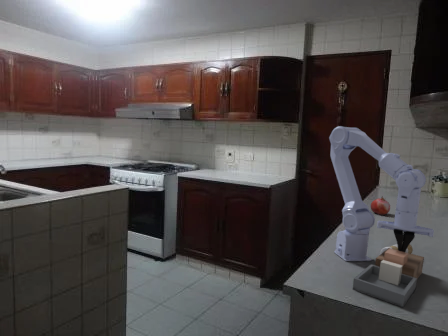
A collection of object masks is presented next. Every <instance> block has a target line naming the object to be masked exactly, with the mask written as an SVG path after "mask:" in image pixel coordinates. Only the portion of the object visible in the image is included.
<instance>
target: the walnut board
mask: <svg viewBox="0 0 448 336" xmlns="http://www.w3.org/2000/svg"><path fill="white" fill-rule="evenodd" d="M388 249H391V248H388ZM388 249H387V250H388ZM387 250H386V251H387ZM394 250H395V249H394ZM386 251H384V252H383V253H382V254H381V255H380V254H379V255H378V256H377V257H376V258H375V262H374V265H375V266H378V267H380V264H381V261H383V260H384V255H385V252H386ZM405 253H406V252H405ZM424 260H425V257H424V256H423V255H422V256H421V255H417V254H413V253H411V254H410V253H408V260H407V262H406V263H405V264H404V266H403V267H402V274H405V275H408V276H411V277H415V278H417V280H418V279H419V277H420V276H421V275H422V273H423V270H424V268H423V267H424Z"/></svg>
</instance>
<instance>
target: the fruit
mask: <svg viewBox="0 0 448 336" xmlns="http://www.w3.org/2000/svg"><path fill="white" fill-rule="evenodd" d="M370 210H371V212H373V213H374V214H377V215H380V216H385V215H386V214H388V213H389V212H390V210H391V205H390V203H389V202H388V201H387V200H386V198H384V197H383V195H381V198H380V197H379V198H376V199H374V200H373V201H371V203H370Z"/></svg>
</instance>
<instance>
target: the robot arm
mask: <svg viewBox="0 0 448 336" xmlns="http://www.w3.org/2000/svg"><path fill="white" fill-rule="evenodd" d="M328 139H329V142H330V154H329V155H330V159H331V162H332V166H333V169H334V173H335V175H336V180H337V182H338V186H339V189H340V192H341V195H342V199H343V201H344V206H343V208H342V209H341V212H342V213H341V214H342V225H343V227H344V228H345V229H343V230H340V231H338V232H337V235H336V241H335V250H334V251H333V252H334V253H335V254H336V255H338V256H339V257H340V258H341V259H342V260H343V261H346V262H372V261H373V259H372V258H371V257H369V256H368V255H367V253H368V247H369V246H368V245H369V237H370V231H371V228H372V227H374V225H375V222H376V220H375V219H376V217H375V216H374V214H373V213H372V211H370V210H371V209H370V208H369V206H368V204H366V203H365V202H364V201H363V200H362V196H361V194H360V190H359V187H358V184H357V181H356V178H355V175H354V174H355V173H354V172H353V168H352V165H351V162H350V158H349V156H350V154H351V152H352V151H354V150H355V149H356V148H357V147H359V148H360V149H362V150H363V151H365V152H366V153H367V154H368V155H370V156H371V157H372V158H374V160H377V161H378V167H379V168H380V169H382V171H384V172H385V173H386V174H387V175H388V176H390V177H391V178H392V179H393V180H394V181H395V185H396V186H397V190H398V192H397V198H396V206H395V212H394V214H395V215H394V221H385V220H377V223H376V228H377V229H384V230H392V231H393V234H394V237H395V241H396V243H397V245H398V251H402V252H405V251H406V249H407V247H408V246H409V244H410V245H411V243H412V242H413V240H414V239H415V238H416V237H415V234H416V235H421V236H428V237H430V238H431V237H432V238H433V237H434V233H435V229H433V228H430V227H429V228H428V227H424V226H420V225H417V221H418V215H419V207H420V201H421V193H422V192H421V191H422V188H423V187H425V184H426V182H427V181H426V180H427V179H426V175H425V173H423V172H422V170H421V169H414V166H413V165H412V164H408V163H407V162H406V161H404V160H403V159H402V158H401V155H400V154H399V153H394V152H386V151H385V150H384V149H383V148H382V147H380V146H379V145H378V144H377V143H376V142H375V141H374V140H373V139H372V138H371V137H369V136H368V135H367V134H366V132H364V131H362V130H361V129H359V128H358V127H349V126H348V127H347V126H342V125H340V126H339V125H338V126H336V127H334V128H333V130H332V131H331V133H330V135H329V137H328Z"/></svg>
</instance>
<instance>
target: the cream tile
mask: <svg viewBox="0 0 448 336" xmlns="http://www.w3.org/2000/svg"><path fill="white" fill-rule="evenodd" d="M402 267H403V266H402V265H399V264H396V263H392V262H389V261H385V260H383V261H381V264H380V271H379V280H382V281H386V282H389V283H392V284H395V285H399V284H400V281H401V274H402Z"/></svg>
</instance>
